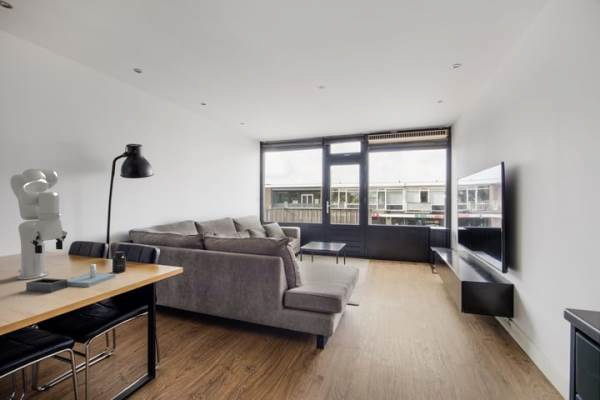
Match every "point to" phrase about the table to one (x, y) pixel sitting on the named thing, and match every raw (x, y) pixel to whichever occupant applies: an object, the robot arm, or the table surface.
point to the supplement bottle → (119, 262)
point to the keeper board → (90, 278)
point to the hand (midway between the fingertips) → (49, 251)
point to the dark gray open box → (46, 285)
